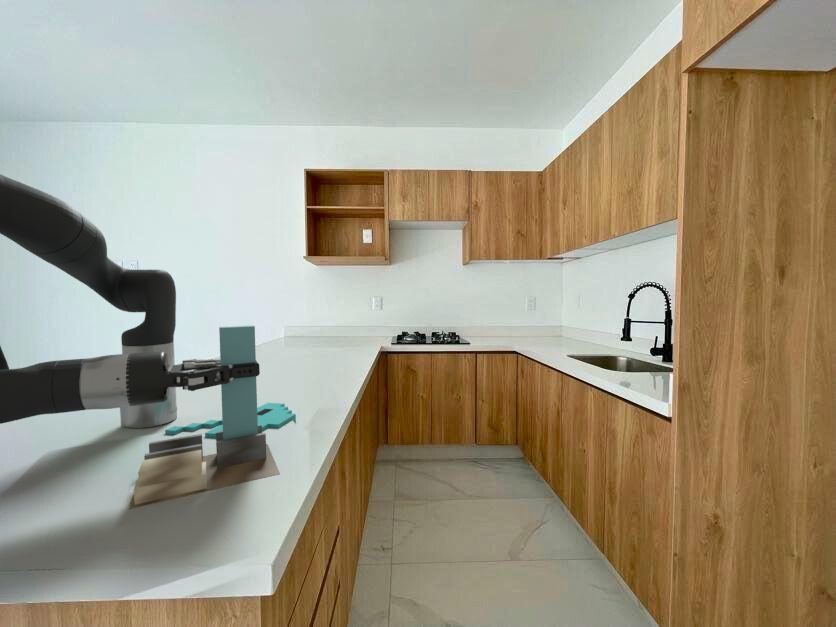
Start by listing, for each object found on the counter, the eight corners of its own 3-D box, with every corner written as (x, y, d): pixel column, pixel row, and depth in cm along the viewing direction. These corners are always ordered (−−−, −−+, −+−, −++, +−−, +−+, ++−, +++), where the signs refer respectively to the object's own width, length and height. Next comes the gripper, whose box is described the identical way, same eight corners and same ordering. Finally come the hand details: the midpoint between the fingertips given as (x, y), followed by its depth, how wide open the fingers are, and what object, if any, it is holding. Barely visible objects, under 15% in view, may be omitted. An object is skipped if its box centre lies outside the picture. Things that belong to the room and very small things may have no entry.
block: (223, 441, 59) (219, 327, 58) (223, 436, 62) (219, 326, 61) (257, 435, 62) (254, 326, 61) (256, 430, 64) (252, 325, 63)
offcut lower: (134, 504, 48) (133, 489, 48) (139, 489, 52) (139, 474, 52) (206, 488, 52) (206, 474, 52) (206, 474, 56) (206, 461, 56)
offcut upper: (138, 487, 48) (138, 472, 48) (143, 474, 52) (142, 460, 52) (201, 474, 52) (201, 460, 52) (202, 463, 55) (201, 449, 55)
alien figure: (165, 441, 73) (258, 448, 69) (165, 430, 73) (257, 436, 69) (235, 409, 92) (310, 414, 88) (235, 401, 92) (310, 405, 88)
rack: (129, 516, 47) (127, 477, 47) (143, 473, 58) (142, 442, 58) (280, 480, 56) (279, 447, 56) (267, 449, 67) (266, 421, 67)
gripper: (117, 361, 48) (263, 350, 56) (134, 348, 60) (252, 340, 68) (119, 419, 48) (264, 399, 57) (136, 394, 60) (254, 381, 69)
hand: (257, 367), depth 63 cm, fingers closed on block, 2 cm apart
